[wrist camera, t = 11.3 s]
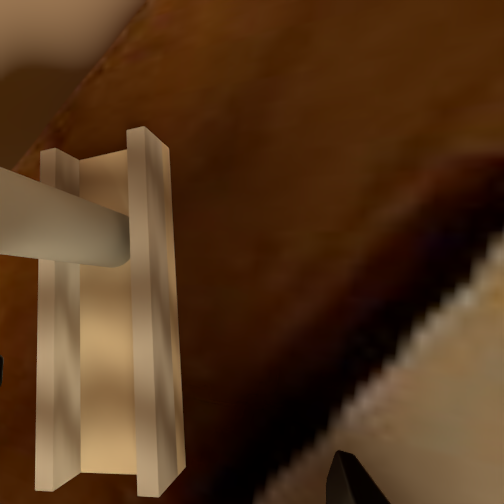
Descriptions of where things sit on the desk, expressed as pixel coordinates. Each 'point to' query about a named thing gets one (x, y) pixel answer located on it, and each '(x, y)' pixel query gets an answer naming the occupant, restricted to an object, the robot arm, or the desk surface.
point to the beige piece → (59, 225)
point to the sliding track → (112, 331)
